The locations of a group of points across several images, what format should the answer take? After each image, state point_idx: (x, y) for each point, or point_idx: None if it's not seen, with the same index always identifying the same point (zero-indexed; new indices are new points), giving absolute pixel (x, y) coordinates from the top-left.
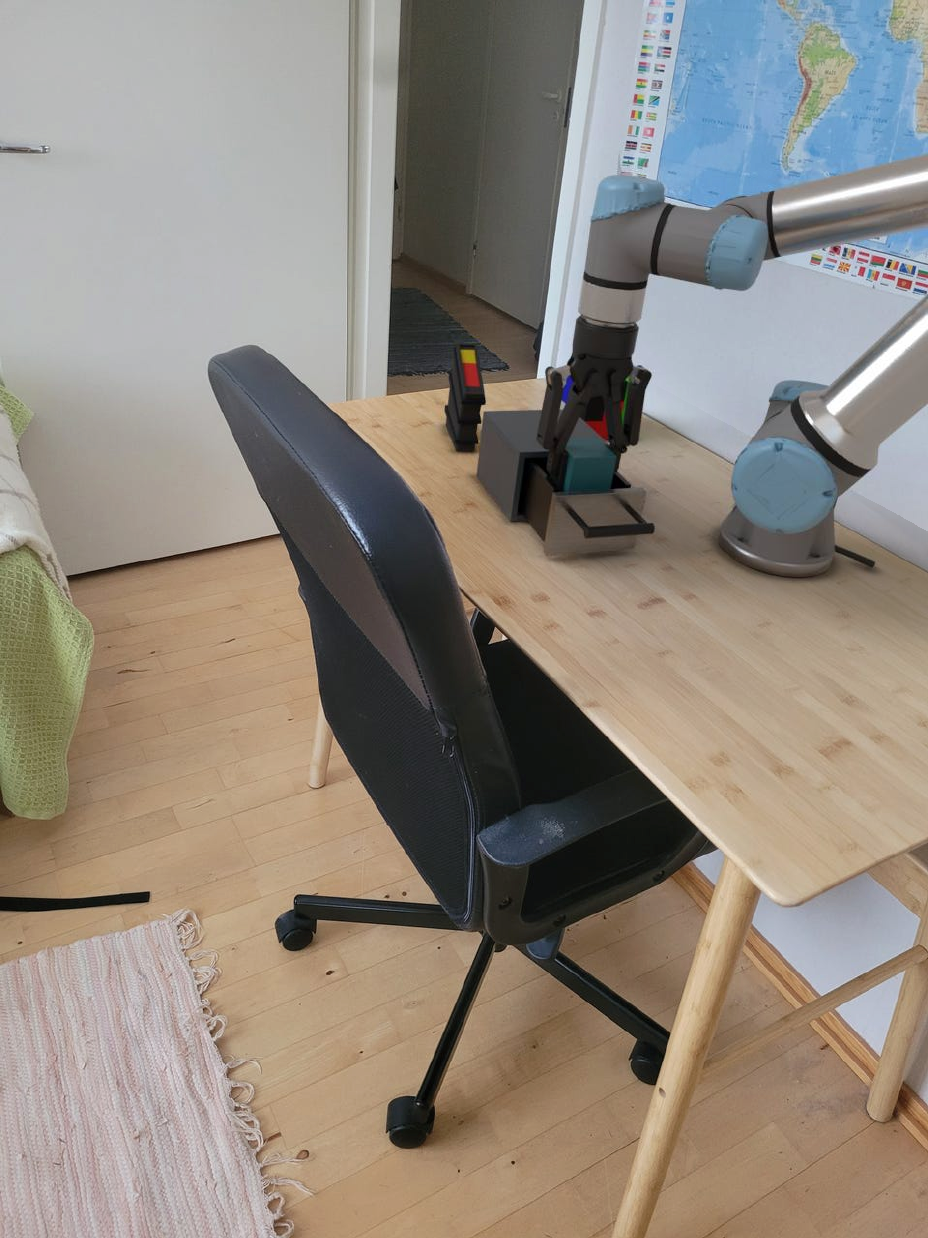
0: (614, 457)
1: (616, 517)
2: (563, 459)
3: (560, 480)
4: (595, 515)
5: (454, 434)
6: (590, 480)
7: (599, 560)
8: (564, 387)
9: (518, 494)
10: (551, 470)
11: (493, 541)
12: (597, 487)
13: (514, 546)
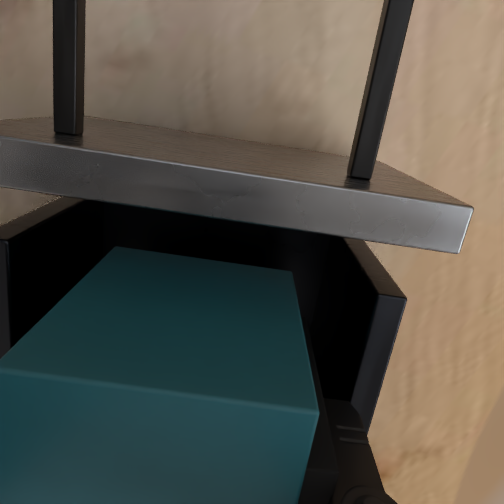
0: (11, 364)
1: (131, 137)
2: (331, 447)
3: (312, 367)
4: (230, 154)
5: None
6: (190, 310)
7: (206, 120)
8: None
9: None
10: (358, 420)
11: (438, 304)
12: (153, 286)
13: (401, 265)
